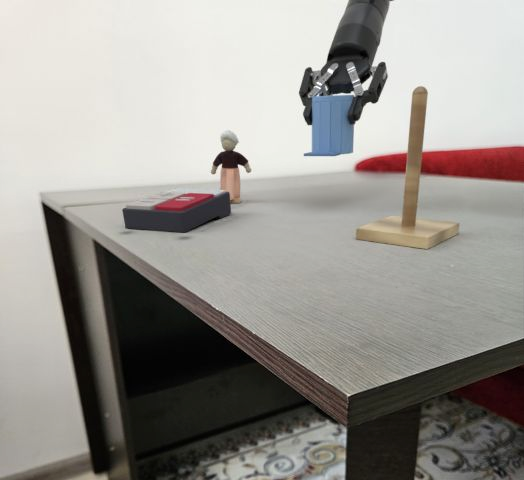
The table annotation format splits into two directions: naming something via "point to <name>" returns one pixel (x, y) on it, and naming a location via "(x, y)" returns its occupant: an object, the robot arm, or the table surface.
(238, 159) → the grandmother figurine
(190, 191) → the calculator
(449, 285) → the table surface
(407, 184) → the hat stand
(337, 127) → the blue ribbed waste bin
